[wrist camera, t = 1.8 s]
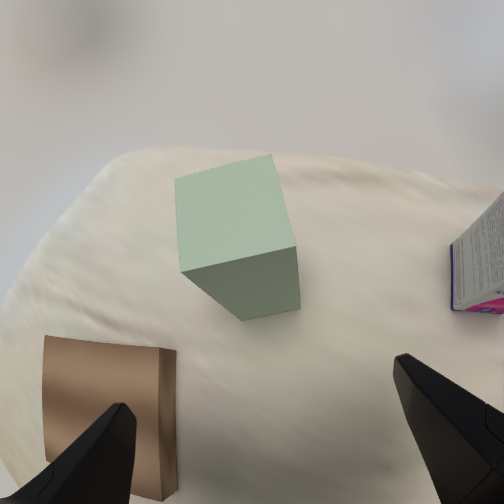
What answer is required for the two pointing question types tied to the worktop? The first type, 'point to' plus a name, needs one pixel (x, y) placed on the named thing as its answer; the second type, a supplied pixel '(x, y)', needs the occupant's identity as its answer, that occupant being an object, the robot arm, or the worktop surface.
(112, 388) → the walnut base
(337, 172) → the worktop surface
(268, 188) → the sage block
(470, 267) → the supplement box
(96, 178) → the worktop surface
